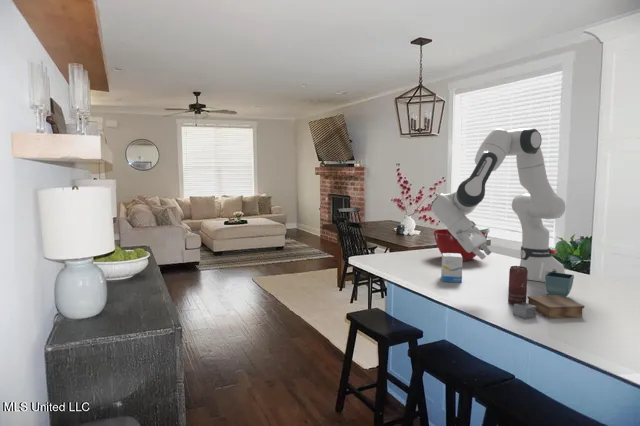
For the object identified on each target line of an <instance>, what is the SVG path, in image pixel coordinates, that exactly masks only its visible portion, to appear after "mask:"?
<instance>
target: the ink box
mask: <svg viewBox="0 0 640 426" xmlns="http://www.w3.org/2000/svg"><path fill="white" fill-rule="evenodd" d="M463 262H464V261H463V257H462V255H461V254H458V253H442V254H441V275H440V277H441V280H442V282H447V283H449V282H451V283H462V282H463Z"/></svg>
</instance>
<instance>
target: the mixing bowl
mask: <svg viewBox="0 0 640 426" xmlns="http://www.w3.org/2000/svg"><path fill="white" fill-rule="evenodd" d="M480 231H481V230H480ZM432 233H433V234H434V240H435V243H436V246H437V249H438V250H439V252H440V254H441V255H442V253H458V254H461V255H462V257H463V262H465V261H470V260H472V259H474V258H475V257H476V256H477V255H476V254H474V253H473V252H470V253H468V252H467V251H466V250H465V249H464V248H463V247H462V246H461V244H460V243H459V242H458V240H457V239H456V238H455V237H454V236H453V235H452V234H451V233H450V232H449V231H448V229H447V228H443V229H436V230H433V231H432ZM481 233H482V234H483V235H484V236H485V237H486V235H487V233H486V232H485V231H481ZM478 249H479V250H480V251H481V249H482V248H481V247H478Z"/></svg>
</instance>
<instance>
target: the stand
mask: <svg viewBox="0 0 640 426" xmlns="http://www.w3.org/2000/svg"><path fill="white" fill-rule="evenodd" d="M526 299H528V304H531V305H534V306H536V313H538V314H540V315H542V316H544V317H545V318H548V319H568V318H569V319H570V318H583V309H585V305H582V304H581V303H578V302H576V301H573V300H572V299H569V298H568V297H566V298H565V297H563V296H560V295H549V294H548V295H528V296H527V295H526Z"/></svg>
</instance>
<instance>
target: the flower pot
mask: <svg viewBox="0 0 640 426" xmlns="http://www.w3.org/2000/svg"><path fill="white" fill-rule="evenodd" d="M574 279H575V275H574V274H570V273H565V274H564V273H556V272H549V273H547V274H546V275H545V282H544V283H545V289H546V293H547V294H548V295H560V296H563V297H565V298H568V296H569V294H570V292H571V291H572V288H573V283H574Z"/></svg>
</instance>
